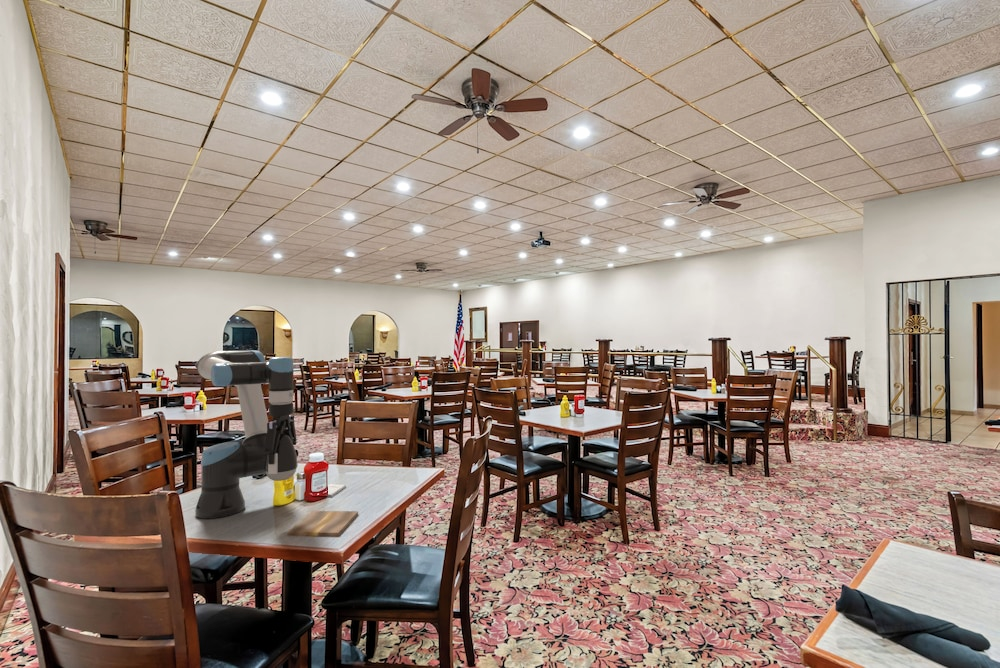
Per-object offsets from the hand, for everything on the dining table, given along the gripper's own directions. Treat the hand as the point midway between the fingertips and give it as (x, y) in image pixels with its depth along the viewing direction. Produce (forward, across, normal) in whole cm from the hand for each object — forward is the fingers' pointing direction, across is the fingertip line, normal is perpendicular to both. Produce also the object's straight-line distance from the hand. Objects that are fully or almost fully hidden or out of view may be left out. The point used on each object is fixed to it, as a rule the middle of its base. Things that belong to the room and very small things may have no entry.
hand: (281, 468), depth 159 cm
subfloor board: (+17, -3, -16) cm, 24 cm away
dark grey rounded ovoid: (+4, 0, 0) cm, 4 cm away
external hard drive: (+18, +29, -5) cm, 35 cm away
